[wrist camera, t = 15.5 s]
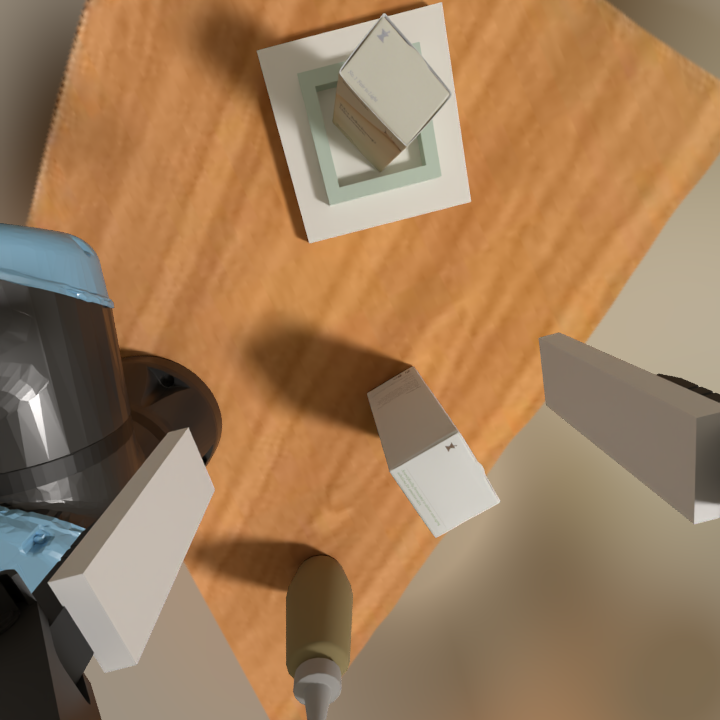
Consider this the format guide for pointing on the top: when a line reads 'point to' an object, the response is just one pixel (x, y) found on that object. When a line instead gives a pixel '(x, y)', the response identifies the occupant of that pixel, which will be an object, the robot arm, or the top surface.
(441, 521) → the skincare box
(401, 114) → the skincare box
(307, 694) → the squeeze bottle
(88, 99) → the top surface
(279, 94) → the collar plate
